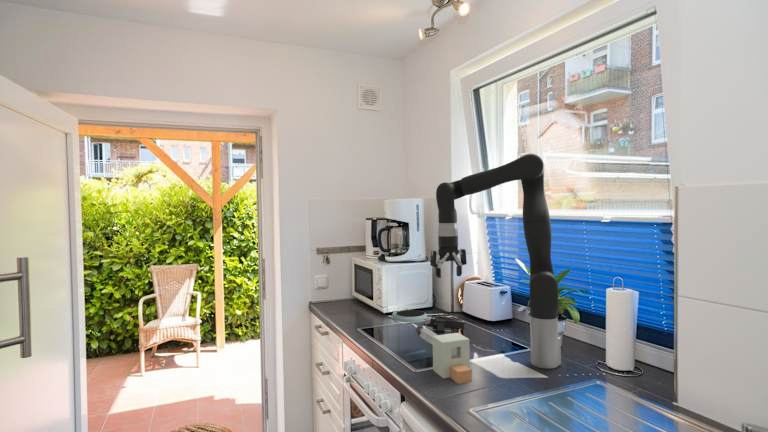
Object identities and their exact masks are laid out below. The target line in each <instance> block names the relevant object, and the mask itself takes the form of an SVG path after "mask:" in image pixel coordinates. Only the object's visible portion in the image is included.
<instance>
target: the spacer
mask: <svg viewBox="0 0 768 432" xmlns="http://www.w3.org/2000/svg"><path fill="white" fill-rule="evenodd" d="M472 374H473V372H472V369H471V367H470V368H468V367H467V366H465V365H464V364H463V365H457V366H451V377H450V379H451V380H453V381H454V382H455V383H456V384H458V385H460V384H464V383H470V382H473V381H472V380H473V375H472Z"/></svg>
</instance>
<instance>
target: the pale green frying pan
mask: <svg viewBox="0 0 768 432" xmlns="http://www.w3.org/2000/svg"><path fill="white" fill-rule="evenodd" d="M392 316H393V317H392ZM391 317H392V319H393V318H394V319H395V320H394V319H393V320H394V321H396V320H397V321H396V322H399V323H408V324H409V323H421V322H426V320H423V319H426V318H427V317H428V314H427V313H426V312H424V311H422V310H418V309H417V310H416V309H410V310H403V311H398V312H393V313H392V312H391Z"/></svg>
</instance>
